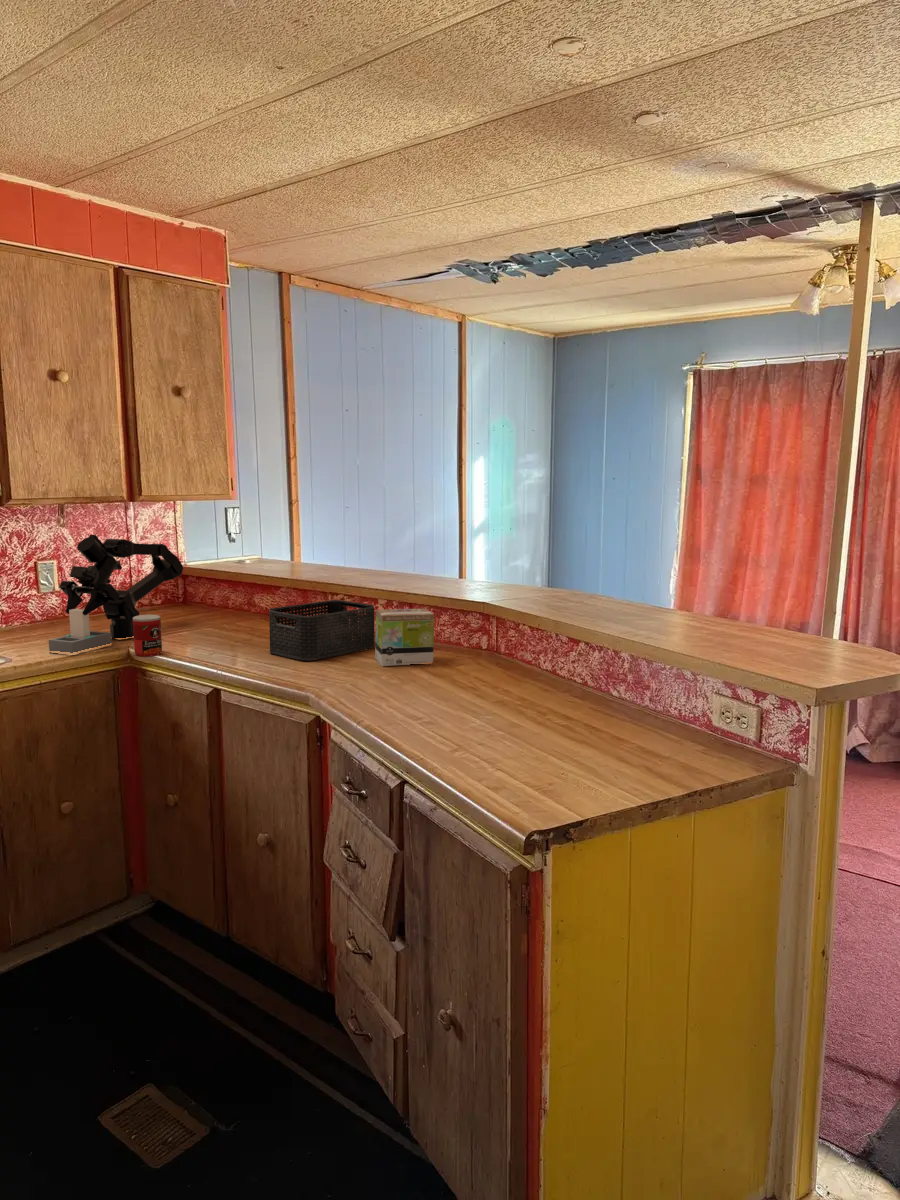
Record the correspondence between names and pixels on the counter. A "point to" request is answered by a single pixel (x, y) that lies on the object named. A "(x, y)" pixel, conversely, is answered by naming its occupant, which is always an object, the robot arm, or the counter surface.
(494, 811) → the counter surface
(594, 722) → the counter surface
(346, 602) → the storage bin
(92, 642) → the frame
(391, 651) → the tea box
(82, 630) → the block
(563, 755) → the counter surface
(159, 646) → the canned food
